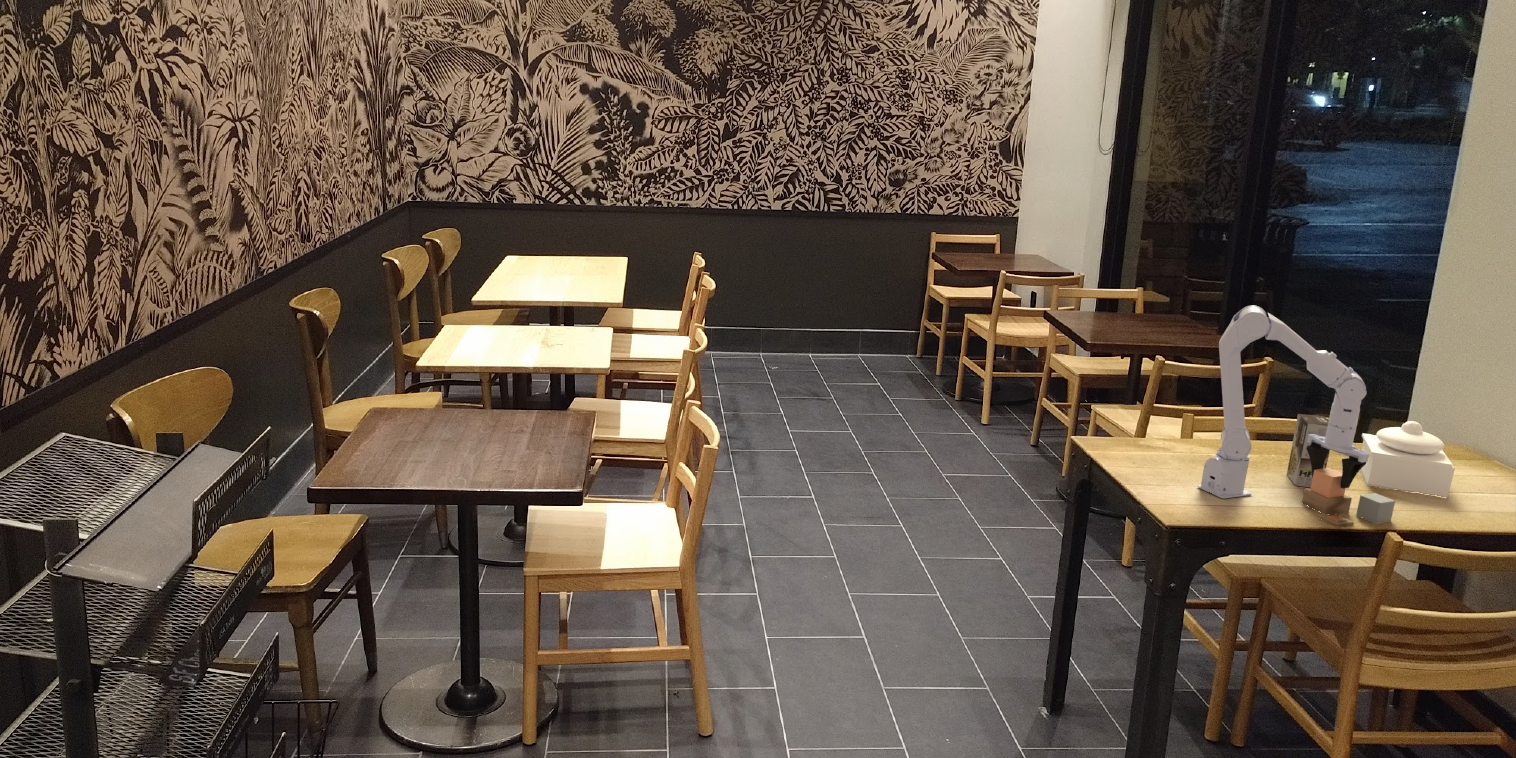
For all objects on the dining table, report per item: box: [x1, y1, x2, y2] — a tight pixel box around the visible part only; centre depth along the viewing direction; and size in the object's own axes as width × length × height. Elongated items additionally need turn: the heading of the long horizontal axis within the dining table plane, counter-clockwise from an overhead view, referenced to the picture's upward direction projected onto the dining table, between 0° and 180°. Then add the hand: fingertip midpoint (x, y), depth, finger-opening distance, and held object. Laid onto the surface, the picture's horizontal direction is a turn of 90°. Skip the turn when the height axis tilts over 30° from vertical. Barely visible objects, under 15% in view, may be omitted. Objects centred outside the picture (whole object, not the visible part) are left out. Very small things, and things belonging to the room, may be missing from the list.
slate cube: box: [1355, 492, 1396, 524], centre depth 253 cm, size 5×5×5 cm
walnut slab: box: [1301, 487, 1353, 515], centre depth 258 cm, size 7×7×4 cm
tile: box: [1318, 514, 1355, 528], centre depth 250 cm, size 5×5×1 cm
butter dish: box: [1359, 420, 1456, 499], centre depth 279 cm, size 18×18×16 cm
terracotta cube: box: [1310, 467, 1346, 498], centre depth 256 cm, size 5×5×5 cm
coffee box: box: [1286, 413, 1331, 488], centre depth 274 cm, size 9×6×16 cm
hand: (1330, 481), depth 256 cm, fingers open, 7 cm apart
